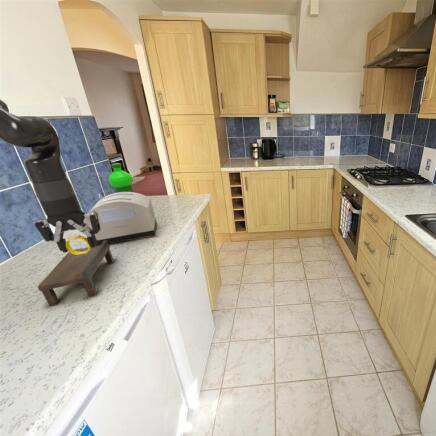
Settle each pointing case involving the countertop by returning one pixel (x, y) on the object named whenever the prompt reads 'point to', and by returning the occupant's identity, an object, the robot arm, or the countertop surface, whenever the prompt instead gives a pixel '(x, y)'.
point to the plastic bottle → (120, 179)
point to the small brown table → (75, 271)
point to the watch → (74, 237)
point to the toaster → (124, 217)
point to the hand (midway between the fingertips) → (80, 248)
